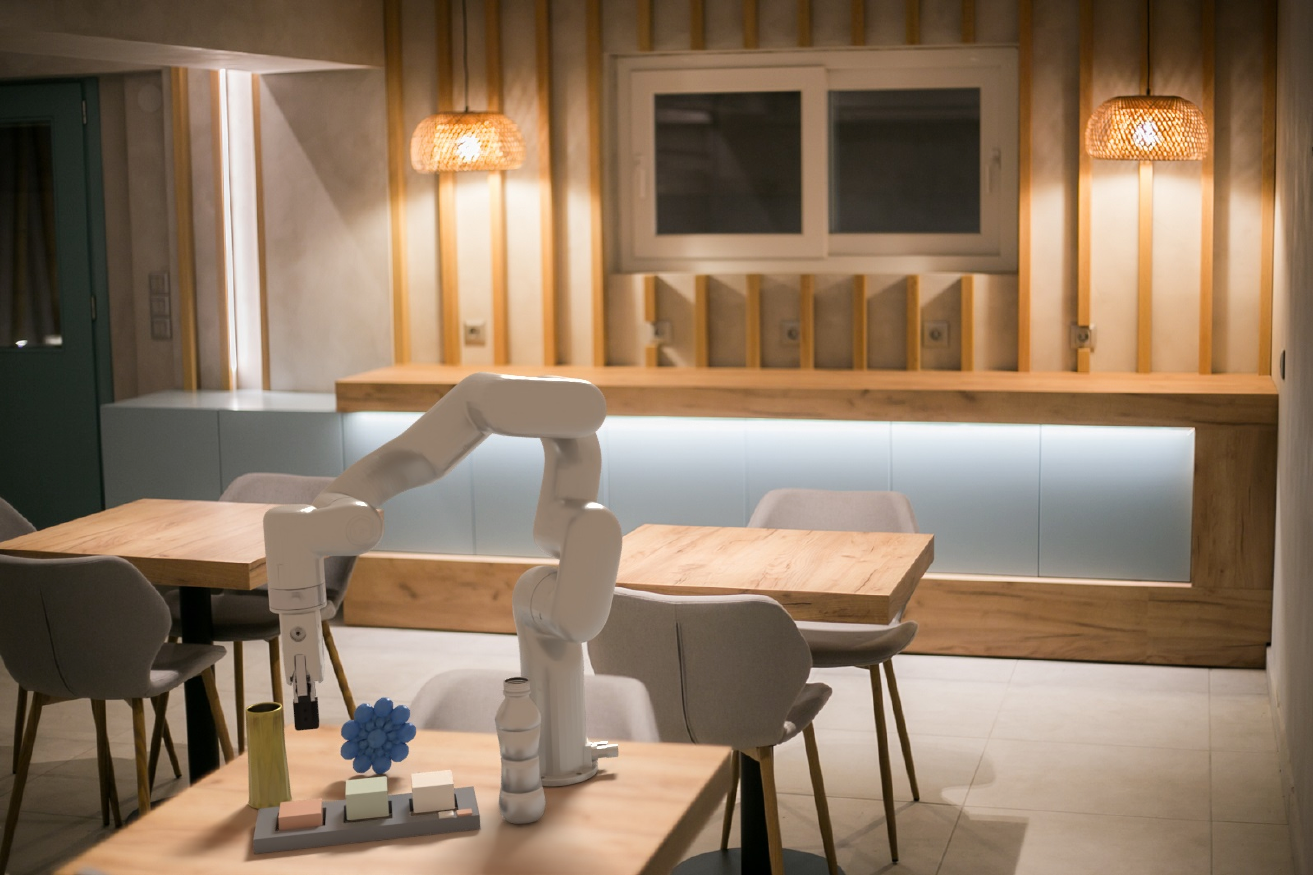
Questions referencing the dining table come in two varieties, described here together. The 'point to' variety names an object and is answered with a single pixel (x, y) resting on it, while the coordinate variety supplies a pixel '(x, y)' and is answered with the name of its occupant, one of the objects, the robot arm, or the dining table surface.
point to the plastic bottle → (519, 754)
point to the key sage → (366, 798)
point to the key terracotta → (300, 814)
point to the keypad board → (366, 824)
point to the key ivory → (432, 791)
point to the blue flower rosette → (377, 736)
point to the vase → (267, 756)
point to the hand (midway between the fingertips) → (307, 727)
